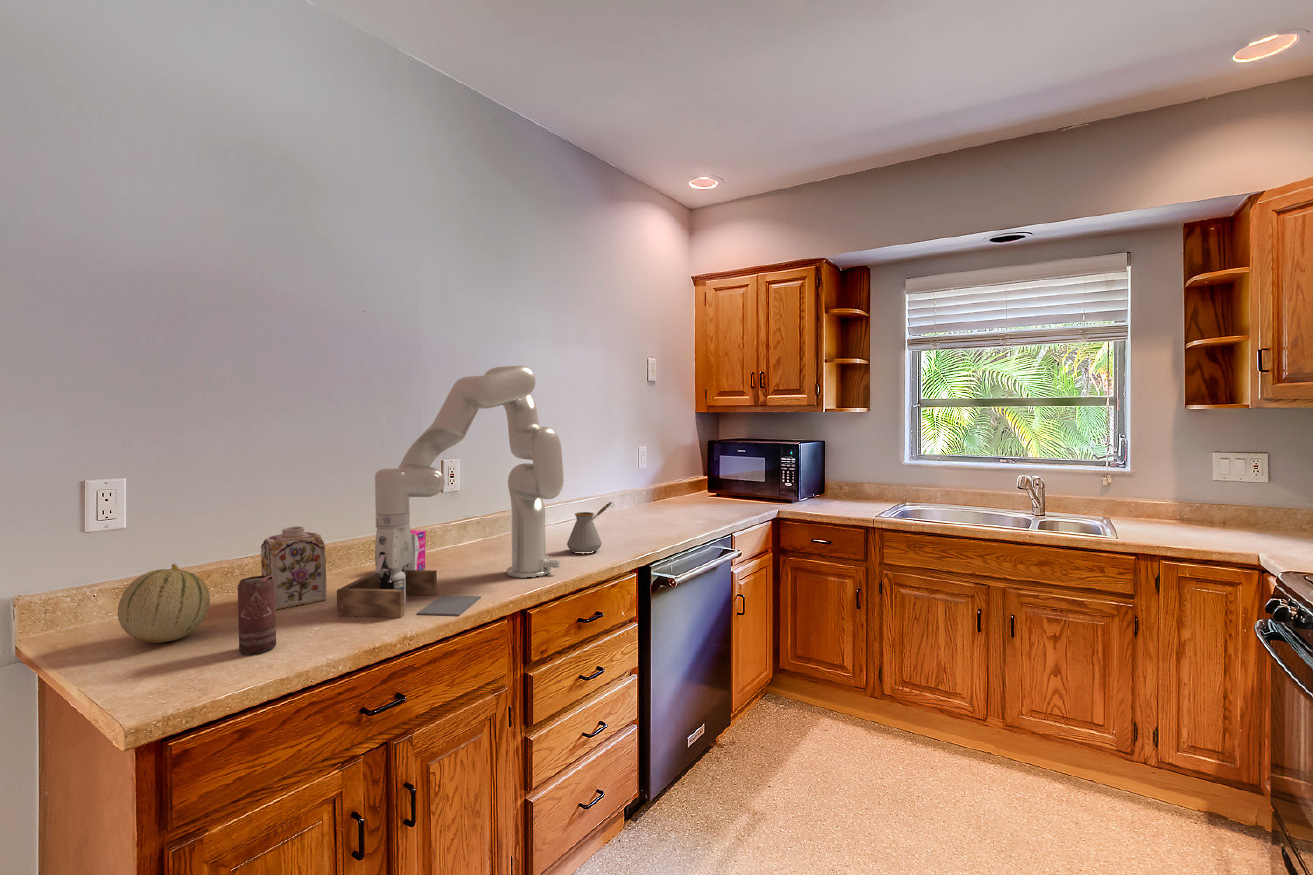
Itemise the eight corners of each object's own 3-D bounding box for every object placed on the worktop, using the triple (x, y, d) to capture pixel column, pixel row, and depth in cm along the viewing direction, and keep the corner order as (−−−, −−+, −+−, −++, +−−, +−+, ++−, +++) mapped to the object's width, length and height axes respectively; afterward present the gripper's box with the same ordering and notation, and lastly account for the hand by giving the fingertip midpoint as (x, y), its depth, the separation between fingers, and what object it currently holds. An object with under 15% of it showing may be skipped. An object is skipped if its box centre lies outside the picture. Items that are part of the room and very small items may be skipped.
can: (284, 645, 125) (283, 575, 124) (254, 657, 119) (253, 584, 118) (262, 641, 127) (260, 573, 126) (231, 653, 121) (229, 581, 120)
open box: (436, 593, 160) (436, 570, 160) (400, 617, 142) (400, 591, 141) (380, 592, 162) (380, 569, 161) (337, 615, 143) (336, 589, 143)
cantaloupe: (105, 659, 118) (103, 579, 117) (134, 633, 131) (131, 562, 131) (200, 647, 124) (198, 572, 123) (218, 624, 137) (217, 556, 136)
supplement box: (415, 573, 181) (414, 533, 180) (396, 572, 182) (396, 532, 182) (426, 568, 187) (426, 530, 186) (408, 567, 188) (408, 529, 187)
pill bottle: (386, 601, 154) (385, 561, 154) (408, 600, 154) (408, 561, 154) (378, 608, 149) (377, 567, 148) (401, 607, 149) (401, 566, 149)
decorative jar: (313, 590, 163) (312, 521, 162) (328, 600, 155) (326, 527, 154) (260, 600, 155) (258, 527, 154) (272, 611, 146) (271, 534, 146)
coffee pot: (587, 557, 201) (587, 510, 201) (559, 552, 207) (559, 507, 207) (625, 545, 219) (625, 502, 219) (599, 541, 225) (599, 500, 225)
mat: (481, 597, 157) (481, 596, 157) (459, 615, 143) (459, 614, 143) (442, 596, 158) (442, 595, 158) (416, 614, 144) (416, 612, 144)
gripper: (389, 526, 142) (391, 606, 143) (423, 514, 159) (424, 585, 160) (358, 526, 142) (359, 605, 143) (395, 514, 160) (396, 584, 160)
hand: (393, 594), depth 151 cm, fingers closed on pill bottle, 5 cm apart
